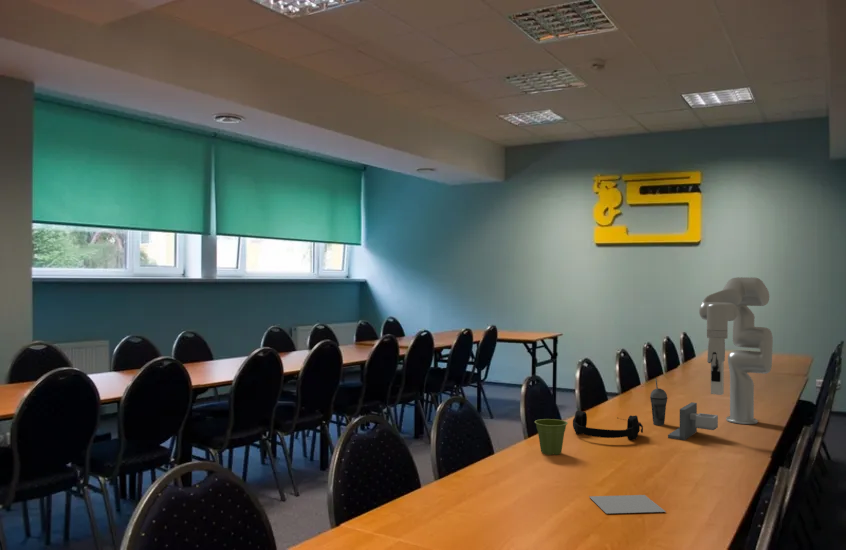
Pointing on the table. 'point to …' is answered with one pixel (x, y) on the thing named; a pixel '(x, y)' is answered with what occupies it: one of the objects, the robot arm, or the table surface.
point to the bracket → (693, 422)
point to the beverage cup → (658, 405)
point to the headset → (630, 432)
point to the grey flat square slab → (626, 504)
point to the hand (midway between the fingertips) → (717, 380)
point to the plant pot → (551, 435)
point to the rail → (718, 386)
